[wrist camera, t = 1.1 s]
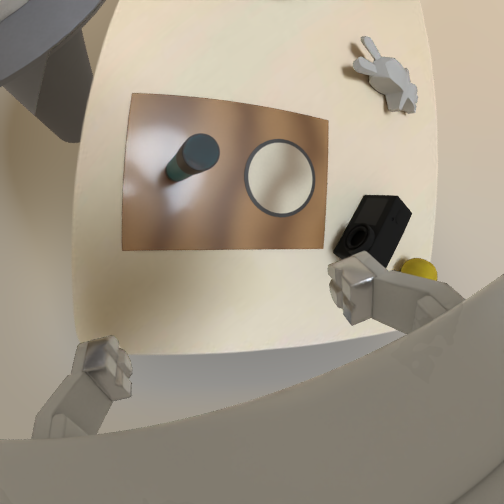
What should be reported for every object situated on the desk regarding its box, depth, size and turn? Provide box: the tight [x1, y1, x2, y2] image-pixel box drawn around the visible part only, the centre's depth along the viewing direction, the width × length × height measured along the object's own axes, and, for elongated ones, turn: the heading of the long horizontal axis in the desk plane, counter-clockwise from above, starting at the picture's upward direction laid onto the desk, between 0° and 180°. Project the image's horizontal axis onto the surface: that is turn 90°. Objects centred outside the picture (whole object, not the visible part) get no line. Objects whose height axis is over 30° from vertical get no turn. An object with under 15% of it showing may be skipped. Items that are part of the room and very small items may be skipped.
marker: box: [165, 133, 220, 182], centre depth 27 cm, size 3×3×13 cm
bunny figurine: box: [353, 36, 418, 114], centre depth 40 cm, size 10×5×15 cm
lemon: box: [401, 258, 437, 281], centre depth 45 cm, size 6×6×8 cm
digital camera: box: [333, 195, 412, 268], centre depth 40 cm, size 10×5×7 cm, turn 145°
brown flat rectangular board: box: [122, 93, 328, 251], centre depth 35 cm, size 26×18×1 cm
